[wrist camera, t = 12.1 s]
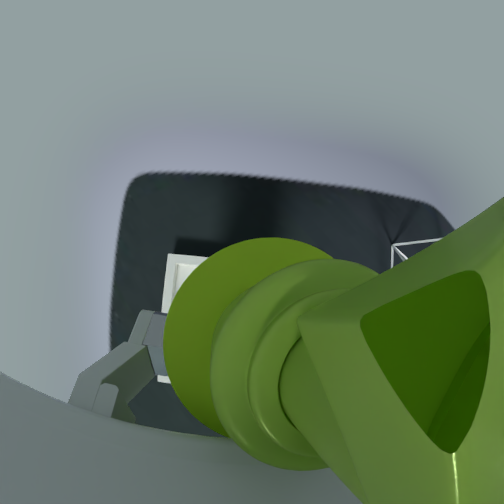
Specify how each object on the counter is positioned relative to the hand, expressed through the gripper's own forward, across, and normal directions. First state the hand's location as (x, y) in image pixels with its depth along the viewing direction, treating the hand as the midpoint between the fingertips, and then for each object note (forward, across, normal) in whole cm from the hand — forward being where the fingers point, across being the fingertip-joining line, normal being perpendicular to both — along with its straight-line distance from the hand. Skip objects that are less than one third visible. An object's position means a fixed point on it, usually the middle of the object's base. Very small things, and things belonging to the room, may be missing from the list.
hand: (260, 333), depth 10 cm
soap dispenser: (+7, 0, +8) cm, 10 cm away
